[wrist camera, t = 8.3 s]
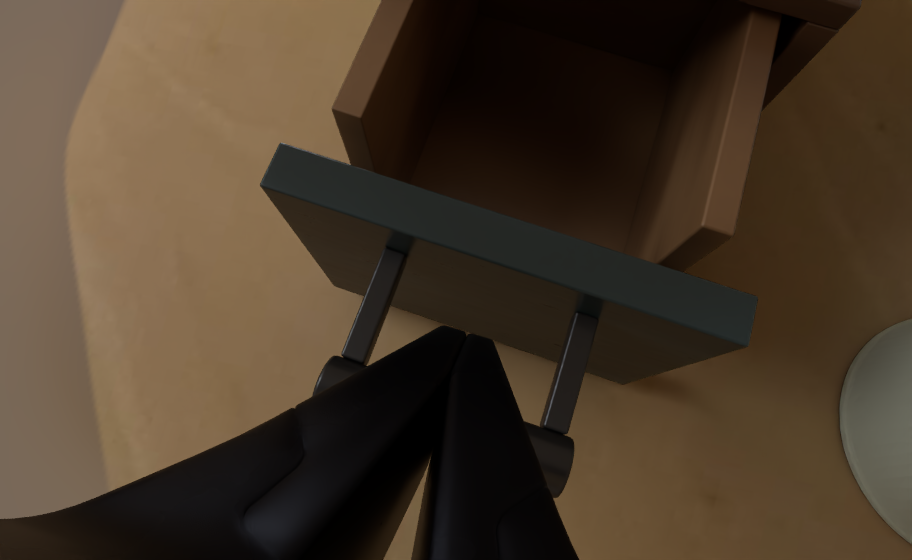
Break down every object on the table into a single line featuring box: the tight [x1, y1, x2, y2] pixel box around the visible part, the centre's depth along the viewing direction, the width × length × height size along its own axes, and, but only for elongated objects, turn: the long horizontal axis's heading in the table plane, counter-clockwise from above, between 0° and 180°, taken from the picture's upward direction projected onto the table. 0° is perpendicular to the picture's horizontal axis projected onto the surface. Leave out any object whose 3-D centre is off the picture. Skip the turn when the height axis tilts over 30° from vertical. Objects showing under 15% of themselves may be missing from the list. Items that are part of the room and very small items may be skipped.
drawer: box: [260, 0, 782, 498], centre depth 18 cm, size 18×11×9 cm, turn 161°
